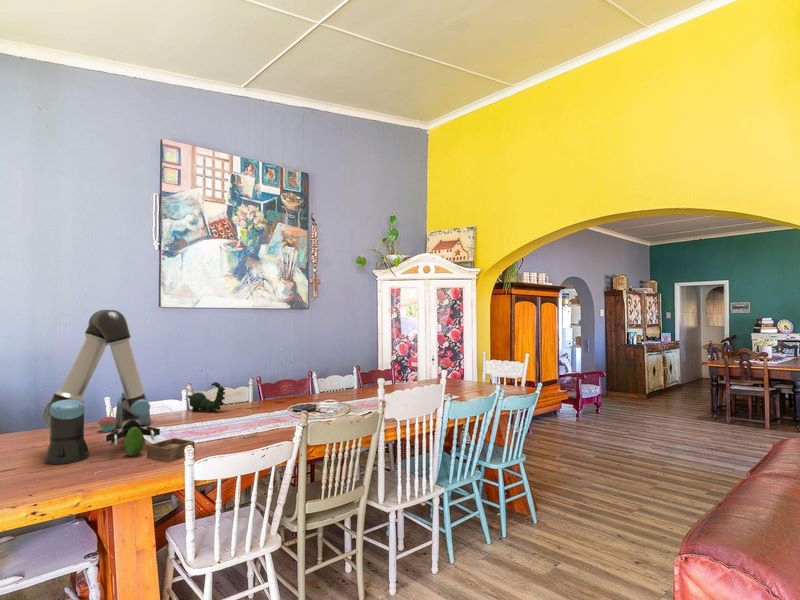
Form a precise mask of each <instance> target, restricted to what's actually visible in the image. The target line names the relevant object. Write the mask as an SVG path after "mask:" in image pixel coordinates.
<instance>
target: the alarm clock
mask: <svg viewBox="0 0 800 600" xmlns="http://www.w3.org/2000/svg"><path fill="white" fill-rule="evenodd" d="M146 400H147V401H148V402H149V399H148V398H147V397H146ZM115 410H116V411H115V418H116V419H117V420H118V421H117V423H116V425H115V427H116V428H118V429H122V428H121V396H120V397H119V398H118V400H117V402H116V409H115ZM150 412H151V411H150V410H149V412H148V413H147V414H146V415H144V416H139V422H140V425H144V426H150V424H151V421H152V420H151V413H150Z"/></svg>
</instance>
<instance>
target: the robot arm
mask: <svg viewBox="0 0 800 600" xmlns="http://www.w3.org/2000/svg"><path fill="white" fill-rule="evenodd" d="M84 335H85V338H86V339H85V341H84V343H83V345H82V347H81V349H80V351H79V352H78V354H77V357H76V359H75V361H74V363H73V364H72V367H71V369H70V371H69V373H68V375H67V376H66V379H65V381H64V383H63V385H62V387H61V388H60V389H59V390H58V391H55V392H54V394H53V396H52V398H51V400H50V401H49V402H48V403H47V404H45V407H44V409H43V412H42V413H43V419H44V421H45V423H46V424H47V425H48V426H49V444H48V447H47V449H46V452H45V455H44V463H45V464H47V465H64V464H70V463H76V462H80V461H82V460H85V459H87V458H88V457H89V456H90V450H89V448H88V445H87V442H86V440H85V404H84V402H85V399H84V397H83V395H84V393H85V391H86V389H87V388H88V386H89V382H90V380H91V378H92V376H93V375H94V373H95V371H96V369H97V367H98V365H99V362H100V361H101V359H102V356H103V354H104V352H105V350H106V349H107V347H108V346H109V347H110V350H111V354H112V357H113V361H114V364H115V367H116V370H117V374H118V377H119V380H120V383H121V387H122V390H123V391H122V392H121V396H120V397H121V428H120V429H121V431H120V430H119V429H115V430H113V432H112V431H111V432H110V433H108V434H106V436H105V442H110V441H111V444H114V446H115V445H116V446H117V445H118V440H120V439H125V437H126V435H127V432H128V430H129V429H130V428H132V427H137V428H139V429H140V431H141V432H142V434H143V436H148V437H149V436H150V438H151V440H152V441H154V440H155V437H157V436H160V434H161V433H160V432H161V430H160V428H157V427H151V426H150V425H146V427H145V428H144V427H143V426H141V425H140V422H139V416H144V415H146V414H147V413H148V412H149V411H150V410H151V404H150V402H149V400H148V401H147V400H146V398H147V397H146V394H145V391H144V388H143V385H142V381H141V377H140V375H139V370H138V367H137V363H136V361H135V357H134V353H133V350H132V345H131V343H130V339H131V338H132V337H131V334H130V330H129V326H128V322H127V319H126V317H125V316H124V314H122V313H121V312H120V311H118V310H114V309H101V310H98V311H95V312H94V313H93V314H92V315H91V316H90V317H89V321H88V327H87V328H86V329H85V332H84Z"/></svg>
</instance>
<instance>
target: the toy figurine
mask: <svg viewBox="0 0 800 600" xmlns="http://www.w3.org/2000/svg"><path fill="white" fill-rule="evenodd" d="M211 387H215V388H217V392H216V396H215V399H214V400H210V399H208V398H207V397H206V395H205V394H204V393H202V392H194V393H192V394H191V395H186V397H187V398H188V399H189V400H188V401H189V406H190V407H191V410H192V411H193V412H197V411H199V412H200V413H201V412H204V411H206V412H205V413H207V412H209V413H210V412H216V411H217V410H218V411H219V410H221V406H224V405H225V402H224V401H223V400H225V398H226V397H225V395H226V392H225V390H226V387H223V386H221V384H220V383H219V382H217V381H216V382H213V383H211Z"/></svg>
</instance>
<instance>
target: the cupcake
mask: <svg viewBox="0 0 800 600" xmlns="http://www.w3.org/2000/svg"><path fill="white" fill-rule="evenodd" d="M112 410H113V408H112V407H110V410H109V415H108V416H104V417H101V418H100V419H99V420H98V422H97V425H98V426H100V428H101V430H102V433H103V432H104V433H106V432H107V433H108V431H109V432H112V430H113V431H115V430H114V429H115V427H116V423H117V421H118V420H117V419H116V416H115V417H114V416H112Z"/></svg>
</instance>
